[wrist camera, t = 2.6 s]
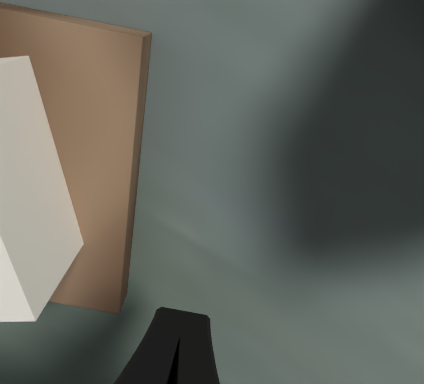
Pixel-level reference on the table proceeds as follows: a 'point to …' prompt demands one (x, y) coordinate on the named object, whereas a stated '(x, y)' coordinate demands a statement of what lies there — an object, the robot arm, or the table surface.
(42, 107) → the cream box
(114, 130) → the tan wooden board
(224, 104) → the table surface
